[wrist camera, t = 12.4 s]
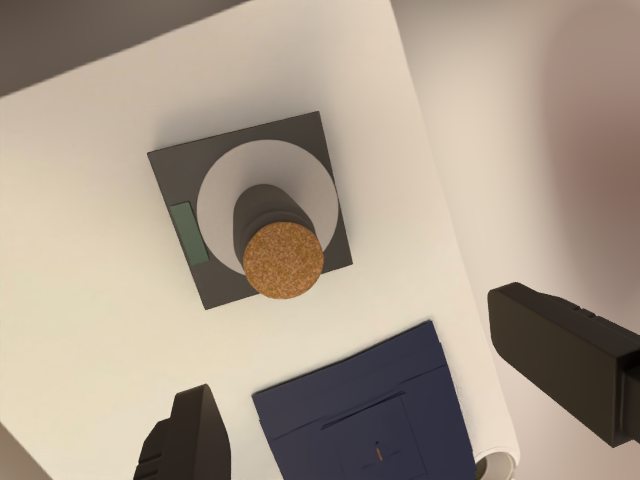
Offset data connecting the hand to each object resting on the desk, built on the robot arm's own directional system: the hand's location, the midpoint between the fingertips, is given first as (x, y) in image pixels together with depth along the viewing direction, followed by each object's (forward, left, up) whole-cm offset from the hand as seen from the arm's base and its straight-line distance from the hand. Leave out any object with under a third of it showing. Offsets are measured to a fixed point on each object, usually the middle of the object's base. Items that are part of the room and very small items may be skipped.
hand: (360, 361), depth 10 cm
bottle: (+1, -1, -27) cm, 27 cm away
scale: (+1, -1, -30) cm, 30 cm away
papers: (+36, +5, -30) cm, 47 cm away
